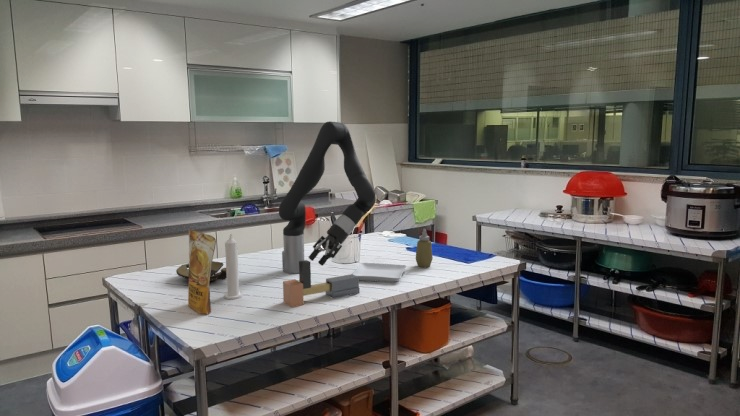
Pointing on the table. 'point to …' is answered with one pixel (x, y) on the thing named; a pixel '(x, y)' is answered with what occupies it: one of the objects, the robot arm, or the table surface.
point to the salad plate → (379, 272)
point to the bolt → (306, 280)
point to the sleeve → (343, 286)
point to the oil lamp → (215, 268)
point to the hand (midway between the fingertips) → (315, 261)
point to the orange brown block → (293, 293)
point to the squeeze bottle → (424, 251)
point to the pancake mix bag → (200, 270)
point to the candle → (232, 269)
